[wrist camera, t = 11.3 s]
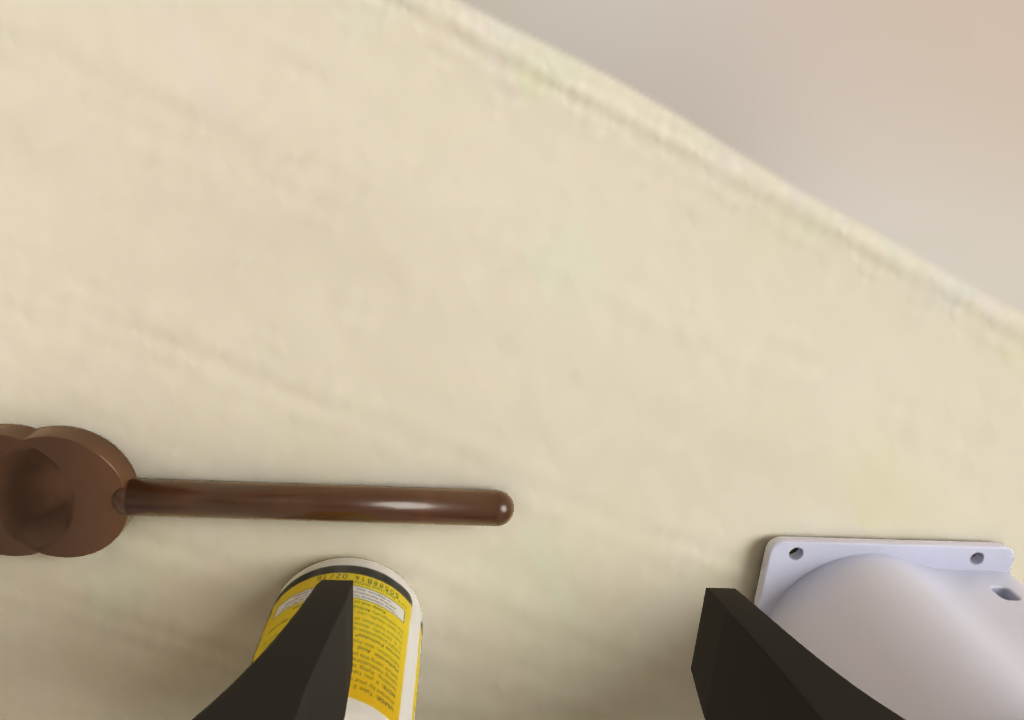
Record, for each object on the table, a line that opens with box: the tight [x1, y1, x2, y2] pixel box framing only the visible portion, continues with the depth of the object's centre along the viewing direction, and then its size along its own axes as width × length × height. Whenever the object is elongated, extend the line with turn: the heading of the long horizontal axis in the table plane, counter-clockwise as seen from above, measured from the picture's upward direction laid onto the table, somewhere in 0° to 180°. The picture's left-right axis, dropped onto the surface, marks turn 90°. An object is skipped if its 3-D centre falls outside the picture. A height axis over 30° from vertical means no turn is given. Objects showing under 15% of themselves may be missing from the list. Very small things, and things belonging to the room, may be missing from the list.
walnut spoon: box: [0, 424, 514, 557], centre depth 24 cm, size 19×4×1 cm, turn 86°
